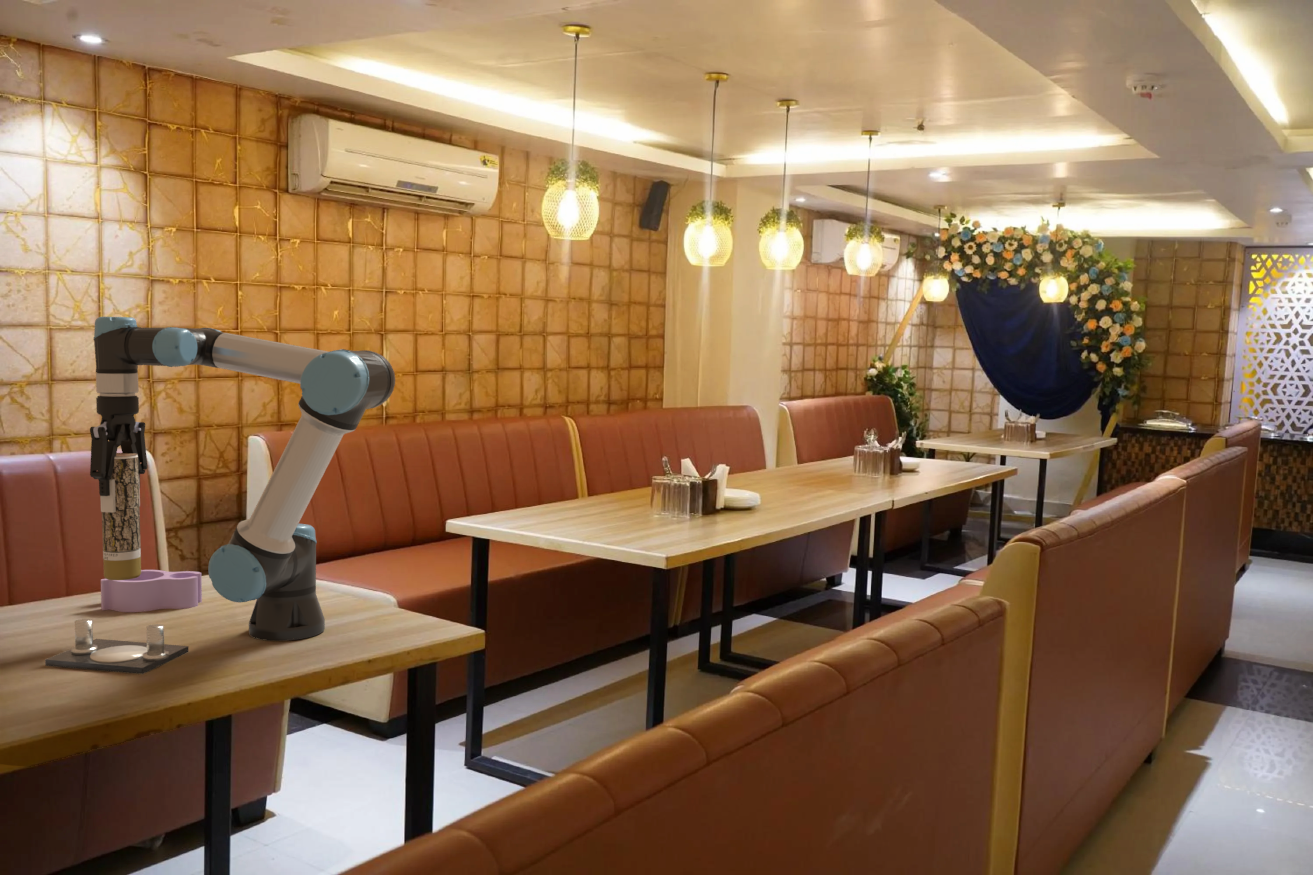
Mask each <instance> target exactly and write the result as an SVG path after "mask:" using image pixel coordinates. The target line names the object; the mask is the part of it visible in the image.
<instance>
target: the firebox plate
mask: <svg viewBox="0 0 1313 875" xmlns="http://www.w3.org/2000/svg"><path fill="white" fill-rule="evenodd" d="M93 644H94V645H97V651H98V650H101V649H104V648H109V647H115V646H125V645H135V646H143V647H146V648H147V642H141V641H130V640H128V641H127V640H118V639H117V640H116V639H104V638H103V639H102V638H95V639H93ZM164 650H166V651H168V652H169V657H168V658H166V659H163V660H159V661H145V660H143V657H141V658H139V659H135V660H130V661H125V662H114V663H103V662H96V661H93V660H91V659H90V655H91V654H87V655H73V654H71V648H70V649H68V650H65V651H63V652H60V653H58V654H55V655H53V656H50V657H48V658H45V659H44V663H45V664H44V665H45V667H55V668H57V667H58V668H69V669H79V670H89V671H90V670H92V671H101V672H102V671H103V672H115V673H122V674H123V673H125V674H136V675H137V674H138V675H144V674H145V673H148V672H151V671H152V670H155V669H156V668H159V667H160V666H163V665H165V664H166V663H169V662H171V661H173V660H175V659H177V658H179V657H182V656H183V655H186V654H188V653H189V646H188V645H180V644H179V645H178V644H177V645H176V644H167V643H164Z"/></svg>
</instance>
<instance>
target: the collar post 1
mask: <svg viewBox="0 0 1313 875" xmlns="http://www.w3.org/2000/svg"><path fill="white" fill-rule="evenodd" d="M93 621H94V620H93V618H92V619H91V618H81V619H77V620H74V646H73V647H71V648H70V649H71V654H73V655H87V654H92V653H93V652H95V651H97V645H94V644H93V640H94V631H93V626H94V625H93Z"/></svg>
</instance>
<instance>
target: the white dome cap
mask: <svg viewBox="0 0 1313 875" xmlns="http://www.w3.org/2000/svg"><path fill="white" fill-rule="evenodd" d="M145 652H147V648H146V647H143V646H135V645H125V646H115V647H109V648H104V649H101V650H98V651H95V652H93V653H92V654H91V655H90V659H91V660H93V661H96V662H103V663H114V662H125V661H130V660H135V659H139V658H141V657H143V653H145Z"/></svg>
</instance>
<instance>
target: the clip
mask: <svg viewBox="0 0 1313 875" xmlns="http://www.w3.org/2000/svg"><path fill="white" fill-rule="evenodd" d="M202 584H203V583H202V572H200V571H192V570H190V571H189V570H184V571H167V570H161V569H160V570H159V569H141V574H140V576H139V577H137V578H133V579H128V580H108V579H106V578H102V579H100V603H101V604H100V605H101V606H100V607H101V611H106V610H107V611H108V610H111V611H116V612H122V613H138V612H139V613H140V612H141V613H143V612H150V611H155V610H163V609H172V610H175V609H176V610H180V609H182V610H183V609H184V610H185V609H191V608H196V607H198V606H199V603H202V602H203V593H202V591H203V588H202Z"/></svg>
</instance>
